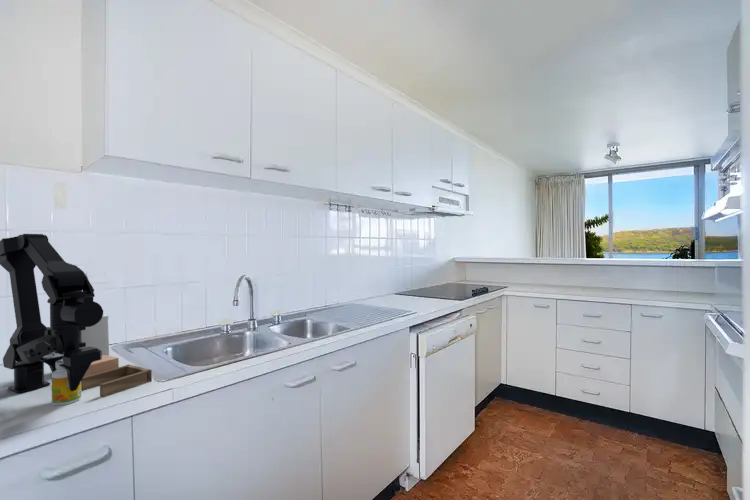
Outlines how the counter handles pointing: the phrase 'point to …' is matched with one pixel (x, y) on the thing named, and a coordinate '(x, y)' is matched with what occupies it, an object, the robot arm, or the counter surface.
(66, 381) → the supplement bottle
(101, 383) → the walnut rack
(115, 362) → the terracotta pedestal
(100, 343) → the skincare box
